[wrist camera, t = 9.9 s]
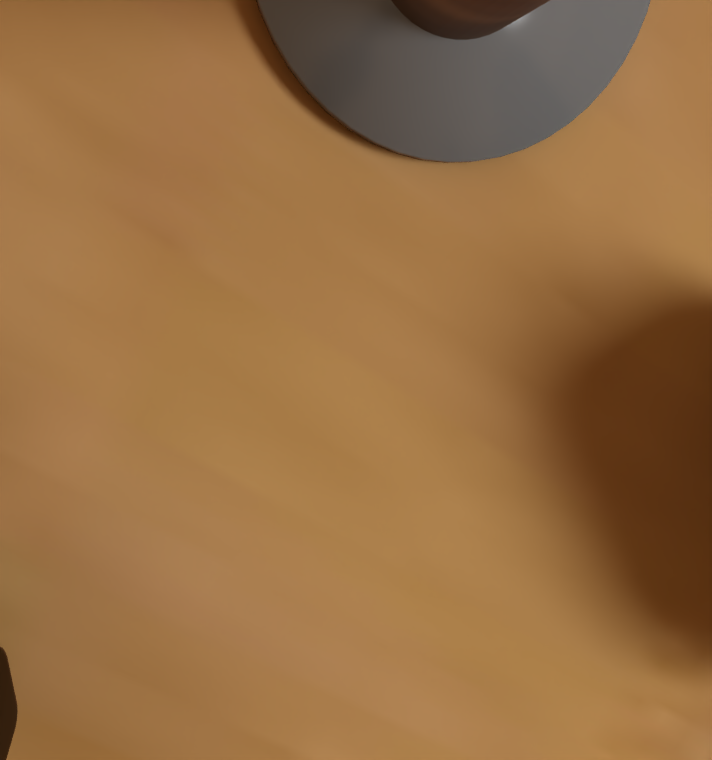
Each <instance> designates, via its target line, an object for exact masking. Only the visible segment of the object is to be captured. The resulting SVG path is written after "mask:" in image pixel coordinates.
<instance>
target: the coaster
mask: <svg viewBox="0 0 712 760" xmlns="http://www.w3.org/2000/svg"><path fill="white" fill-rule="evenodd" d="M256 1H257V4H258V7H259V11H260V13H261V16H262V18H263V20H264V22H265V25H266V27H267V29H268V32H269V34H270V36H271V38H272V41H273V43H274V44H275V46H276V48H277V49H278V51H279V53H280V54H281V56H282V58H283V60H284V61H285V63H286V65H287V66H288V68H289V69H290V71H291V72H292V73H293V75H294V76H295V77H296V79H297V80H298V81H299V82H300V84H301V85H302V86H303V88H304V89H305V90H306V92H307V93H308V94H309V95H310V96H311V97H312V98H313V99H314V100H315V101H316V102H317V103H318V104H319V105H320V106H321V107H322V108H323V109H324V110H325V111H326V112H327V113H328V114H330V115H331V116H332V117H333V118H335V119H336V120H337V121H338V122H340V123H341V124H342V125H344V126H345V127H346V128H347V129H349V130H350V131H352V132H354V133H355V134H357V135H359V136H360V137H362V138H364V139H366V140H367V141H369V142H371V143H372V144H375V145H377V146H380V147H382V148H384V149H387V150H389V151H392V152H394V153H397V154H400V155H404V156H408V157H412V158H416V159H419V160H427V161H436V162H444V163H448V162H472V161H479V160H485V159H490V158H496V157H501V156H504V155H507V154H511V153H514V152H517V151H520V150H523V149H525V148H528V147H530V146H532V145H534V144H536V143H538V142H540V141H542V140H544V139H546V138H548V137H549V136H551V135H552V134H554V133H555V132H557V131H558V130H560V129H561V128H563V127H564V126H566V125H567V124H569V123H570V122H571V121H572V120H574V119H575V118H576V117H577V116H578V115H579V114H580V113H582V112H583V111H584V110H585V109H586V108H587V107H589V105H590V104H591V103H592V102H593V101H594V100H595V99H596V98H597V97H598V95H599V94H600V93H601V92H602V91H603V90H604V89H605V88H606V87H607V85H608V84H609V82H610V81H611V79H612V78H613V77H614V75H615V74H616V72H617V71H618V70H619V68H620V67H621V65H622V64H623V62H624V60H625V58H626V56H627V55H628V53H629V51H630V49H631V47H632V45H633V44H634V42H635V40H636V38H637V35H638V33H639V31H640V28H641V26H642V23H643V21H644V18H645V16H646V13H647V10H648V7H649V4H650V0H550V1H548V2H547V3H545V4H543V5H541V6H540V7H538V8H536V9H535V10H533V11H531V12H530V13H528V14H526V15H524V16H523V17H521V18H519V19H518V20H516V21H514V22H513V23H511V24H509V25H507V26H506V27H504V28H502V29H501V30H499V31H497V32H494V33H492V34H490V35H487V36H484V37H480V38H476V39H469V40H455V39H449V38H443V37H440V36H437V35H434V34H431V33H429V32H427V31H425V30H423V29H421V28H420V27H418V26H417V25H415V24H414V23H412V22H411V21H410V20H409V19H408V18H407V17H405V16H404V15H403V14H402V13H401V12H400V11H399V9H398V8H397V7H396V6H395V5H394V4H393V2H392V1H391V0H256Z"/></svg>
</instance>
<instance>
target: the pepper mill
mask: <svg viewBox="0 0 712 760" xmlns="http://www.w3.org/2000/svg"><path fill="white" fill-rule="evenodd" d="M391 1H392V2H393V4H394V5H395V6H396V7H397V8H398V9H399V11H400V12H401V13H402V14H403V15H404V16H405V17H407V18H408V19H409V20H410V21H411V22H412V23H414V24H415V25H417V26H418V27H420V28H421V29H423V30H425V31H427V32H429V33H431V34H434V35H437V36H440V37H443V38H449V39H455V40H469V39H476V38H480V37H484V36H487V35H490V34H492V33H494V32H497V31H499V30H501V29H502V28H504V27H506V26H507V25H509V24H511V23H513V22H514V21H516V20H518V19H519V18H521V17H523V16H524V15H526V14H528V13H530V12H531V11H533V10H535V9H536V8H538V7H540V6H541V5H543V4H545V3H547V2H548V1H550V0H391Z"/></svg>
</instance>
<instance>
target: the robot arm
mask: <svg viewBox="0 0 712 760" xmlns="http://www.w3.org/2000/svg"><path fill="white" fill-rule="evenodd" d="M16 721H17V701H16V696H15V692H14V687H13V682H12V677H11V673H10V668H9V663H8V658H7V655H6V652H5V651H4V649H3V648H2V647H0V760H6V758H7V755H8V752H9V748H10V745H11V741H12V738H13V734H14V731H15V727H16Z"/></svg>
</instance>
